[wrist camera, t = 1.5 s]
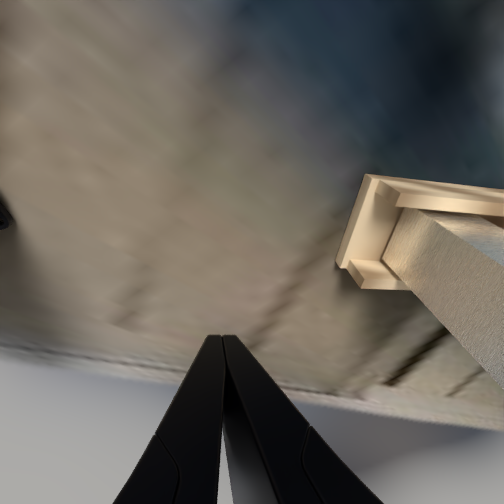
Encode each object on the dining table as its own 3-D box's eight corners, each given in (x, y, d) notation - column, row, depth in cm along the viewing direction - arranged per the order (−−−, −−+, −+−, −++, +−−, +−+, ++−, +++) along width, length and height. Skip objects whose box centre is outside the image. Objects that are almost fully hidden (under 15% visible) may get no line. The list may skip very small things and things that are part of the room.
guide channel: (335, 260, 23) (353, 288, 20) (365, 173, 19) (392, 192, 16) (532, 271, 26) (572, 295, 23) (587, 199, 23) (642, 218, 20)
